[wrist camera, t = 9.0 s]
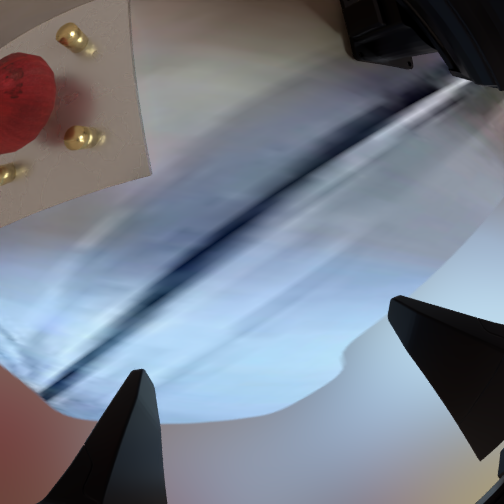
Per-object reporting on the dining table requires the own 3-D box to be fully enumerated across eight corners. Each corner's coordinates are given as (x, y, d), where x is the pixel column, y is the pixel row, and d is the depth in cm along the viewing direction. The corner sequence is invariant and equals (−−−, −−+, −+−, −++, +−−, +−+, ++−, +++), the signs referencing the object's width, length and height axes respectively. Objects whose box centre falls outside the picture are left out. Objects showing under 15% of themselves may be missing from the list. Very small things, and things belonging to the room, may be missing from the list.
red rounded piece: (29, 60, 10) (-37, 35, 3) (89, 75, 12) (31, 39, 5) (-1, 138, 11) (-76, 150, 4) (54, 159, 14) (-19, 178, 6)
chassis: (129, -5, 11) (121, -27, 8) (152, 173, 17) (145, 180, 14) (-22, 71, 9) (-45, 66, 6) (-1, 227, 15) (-25, 243, 11)
